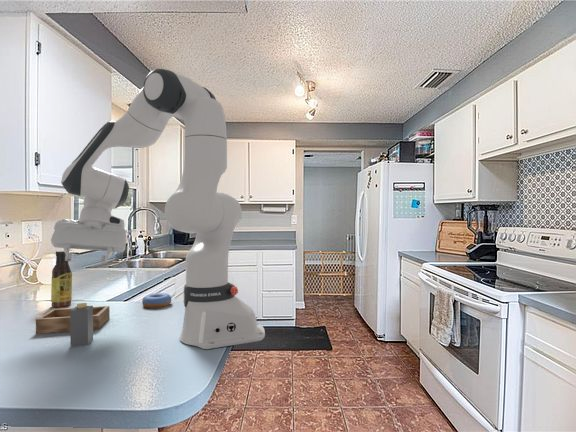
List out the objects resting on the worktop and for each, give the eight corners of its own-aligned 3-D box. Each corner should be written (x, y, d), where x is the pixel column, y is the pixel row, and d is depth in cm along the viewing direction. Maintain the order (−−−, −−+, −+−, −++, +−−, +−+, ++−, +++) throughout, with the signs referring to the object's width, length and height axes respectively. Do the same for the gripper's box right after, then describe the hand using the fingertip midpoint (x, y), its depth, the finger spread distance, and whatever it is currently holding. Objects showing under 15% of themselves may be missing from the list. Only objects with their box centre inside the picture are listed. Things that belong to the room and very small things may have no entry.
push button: (93, 339, 93) (92, 301, 93) (88, 345, 89) (87, 305, 89) (76, 340, 92) (76, 302, 92) (70, 346, 88) (70, 306, 88)
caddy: (109, 318, 112) (109, 305, 112) (98, 329, 101) (98, 315, 101) (53, 322, 108) (53, 309, 108) (35, 333, 98) (35, 319, 98)
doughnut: (157, 309, 121) (157, 296, 121) (135, 308, 125) (136, 295, 125) (177, 305, 130) (177, 293, 130) (156, 304, 134) (156, 292, 134)
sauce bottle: (61, 308, 124) (61, 252, 124) (46, 307, 126) (46, 251, 125) (76, 303, 131) (75, 250, 131) (62, 302, 132) (61, 250, 132)
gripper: (55, 213, 106) (43, 253, 99) (129, 220, 114) (123, 258, 107) (57, 224, 111) (46, 263, 103) (128, 230, 119) (122, 268, 111)
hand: (86, 261), depth 105 cm, fingers open, 8 cm apart
